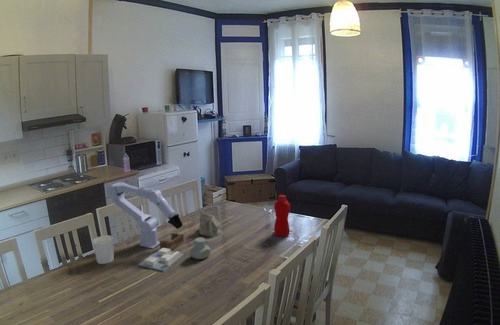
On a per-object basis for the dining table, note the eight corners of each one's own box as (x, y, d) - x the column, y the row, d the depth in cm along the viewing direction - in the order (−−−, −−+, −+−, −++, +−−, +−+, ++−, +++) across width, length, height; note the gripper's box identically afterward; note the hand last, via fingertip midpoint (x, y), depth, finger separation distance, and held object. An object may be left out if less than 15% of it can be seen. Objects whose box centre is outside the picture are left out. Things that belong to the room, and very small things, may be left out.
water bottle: (292, 237, 205) (293, 197, 200) (274, 237, 205) (275, 198, 200) (291, 230, 214) (291, 193, 209) (273, 231, 214) (274, 193, 209)
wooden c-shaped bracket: (160, 248, 192) (159, 240, 191) (172, 240, 202) (172, 232, 201) (171, 251, 189) (171, 242, 188) (183, 242, 200) (183, 234, 198)
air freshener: (202, 250, 189) (201, 234, 187) (213, 255, 184) (212, 238, 182) (187, 258, 181) (186, 241, 179) (198, 263, 176) (197, 245, 174)
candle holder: (119, 257, 182) (117, 236, 180) (106, 266, 173) (103, 244, 171) (104, 254, 186) (102, 234, 183) (91, 263, 176) (88, 241, 174)
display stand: (138, 265, 174) (137, 258, 173) (159, 250, 190) (159, 243, 189) (163, 271, 168) (163, 264, 167) (184, 255, 184) (183, 248, 183)
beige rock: (214, 238, 205) (213, 214, 202) (193, 233, 213) (193, 210, 211) (229, 230, 218) (229, 208, 216) (209, 226, 226) (208, 204, 224)
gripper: (172, 201, 185) (188, 221, 185) (169, 205, 198) (183, 224, 198) (162, 209, 181) (178, 229, 182) (159, 213, 194) (173, 231, 195)
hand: (180, 227), depth 189 cm, fingers open, 7 cm apart
